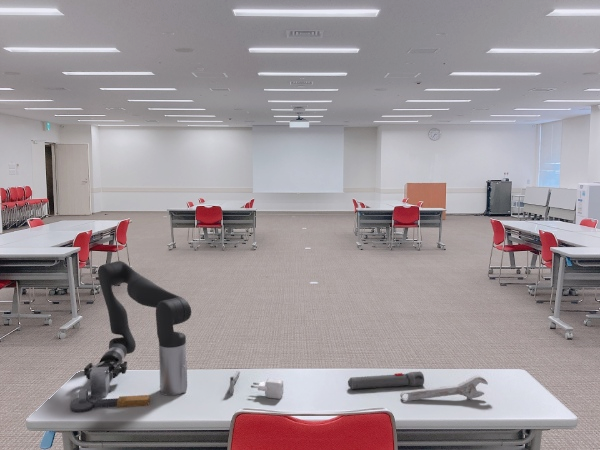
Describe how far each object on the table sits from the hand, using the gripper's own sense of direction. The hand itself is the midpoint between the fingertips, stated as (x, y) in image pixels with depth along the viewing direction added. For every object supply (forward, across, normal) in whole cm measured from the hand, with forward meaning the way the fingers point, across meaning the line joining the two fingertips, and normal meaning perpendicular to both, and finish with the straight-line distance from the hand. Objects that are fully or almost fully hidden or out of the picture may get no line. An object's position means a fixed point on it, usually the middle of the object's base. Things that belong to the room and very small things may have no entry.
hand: (101, 376), depth 170 cm
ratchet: (+10, +6, +6) cm, 13 cm away
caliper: (-2, +47, +6) cm, 47 cm away
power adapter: (+10, +58, +6) cm, 59 cm away
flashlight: (+8, +102, +7) cm, 102 cm away
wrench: (+21, +118, +6) cm, 120 cm away
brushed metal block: (+1, 0, +6) cm, 6 cm away
